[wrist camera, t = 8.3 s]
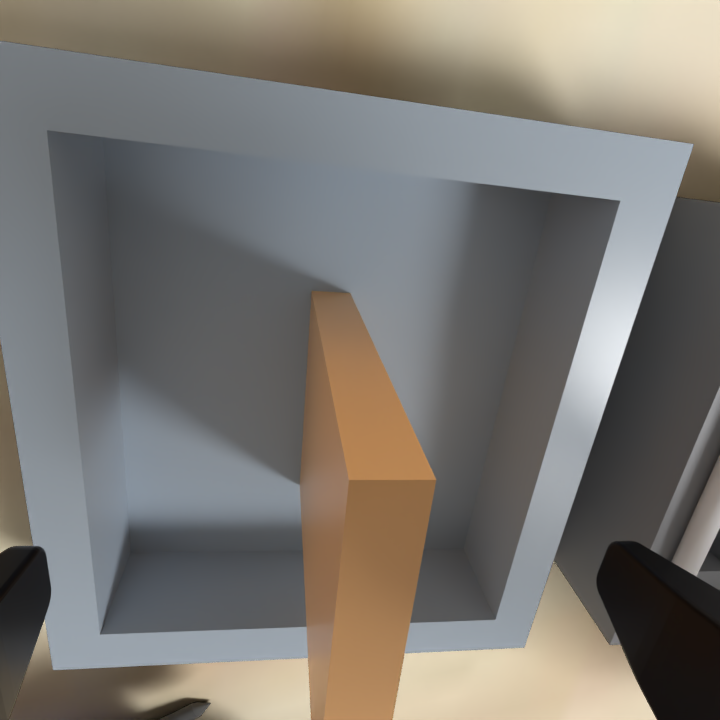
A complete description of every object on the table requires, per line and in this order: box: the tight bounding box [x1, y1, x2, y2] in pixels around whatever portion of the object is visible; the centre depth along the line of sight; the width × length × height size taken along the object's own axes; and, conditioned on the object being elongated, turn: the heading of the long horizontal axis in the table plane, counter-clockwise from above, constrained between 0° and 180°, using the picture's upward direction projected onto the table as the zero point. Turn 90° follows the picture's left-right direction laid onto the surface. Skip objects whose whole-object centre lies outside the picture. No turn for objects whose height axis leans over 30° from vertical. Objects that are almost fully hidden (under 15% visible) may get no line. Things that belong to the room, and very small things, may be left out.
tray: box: [0, 41, 694, 670], centre depth 13 cm, size 13×14×3 cm
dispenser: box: [554, 197, 720, 645], centre depth 14 cm, size 5×12×5 cm, turn 174°
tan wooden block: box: [300, 291, 436, 720], centre depth 10 cm, size 1×6×8 cm, turn 174°
